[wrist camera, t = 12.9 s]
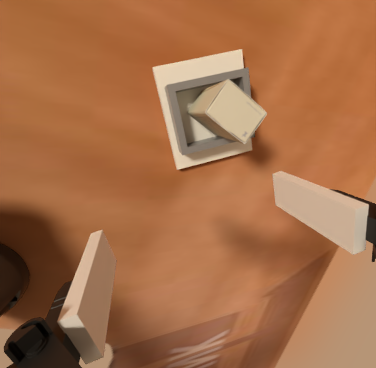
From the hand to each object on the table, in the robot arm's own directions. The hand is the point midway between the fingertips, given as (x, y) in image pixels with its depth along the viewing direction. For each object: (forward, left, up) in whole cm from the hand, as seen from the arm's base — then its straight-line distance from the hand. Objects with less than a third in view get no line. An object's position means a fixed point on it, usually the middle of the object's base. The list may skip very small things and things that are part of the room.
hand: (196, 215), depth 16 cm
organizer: (+8, +6, -23) cm, 25 cm away
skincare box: (+8, +6, -22) cm, 24 cm away
